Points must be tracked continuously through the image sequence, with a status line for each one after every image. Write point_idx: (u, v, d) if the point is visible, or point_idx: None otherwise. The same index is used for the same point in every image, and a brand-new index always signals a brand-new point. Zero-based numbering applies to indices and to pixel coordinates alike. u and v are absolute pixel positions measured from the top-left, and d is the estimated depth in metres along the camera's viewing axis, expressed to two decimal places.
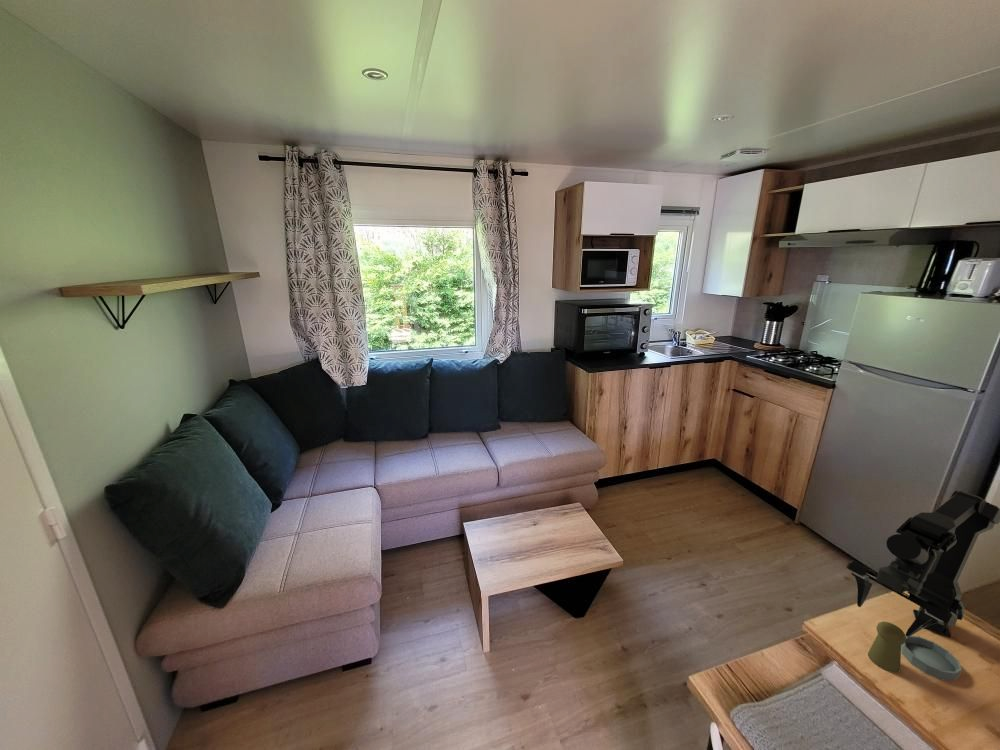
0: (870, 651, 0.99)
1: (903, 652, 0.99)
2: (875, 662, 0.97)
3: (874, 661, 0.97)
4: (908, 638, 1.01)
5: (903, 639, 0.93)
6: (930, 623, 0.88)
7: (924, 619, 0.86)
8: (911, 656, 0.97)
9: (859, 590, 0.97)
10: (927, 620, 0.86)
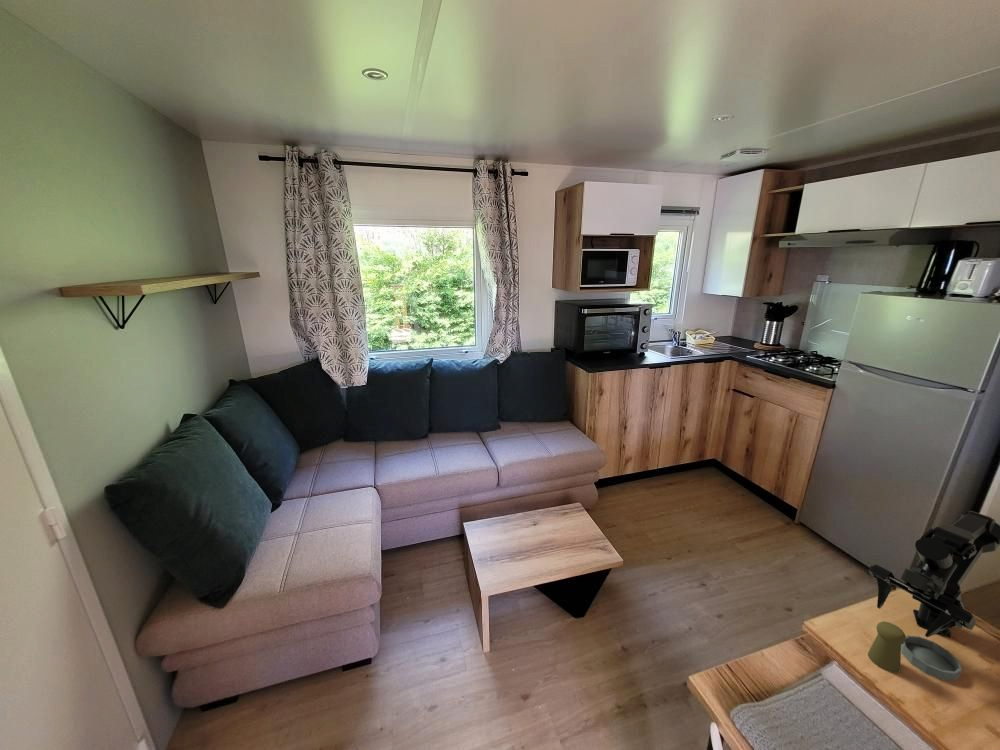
0: (870, 651, 0.99)
1: (903, 652, 0.99)
2: (875, 662, 0.97)
3: (874, 661, 0.97)
4: (908, 638, 1.01)
5: (903, 639, 0.93)
6: (949, 626, 0.92)
7: (945, 619, 0.91)
8: (911, 656, 0.97)
9: (880, 592, 1.01)
10: (948, 620, 0.90)
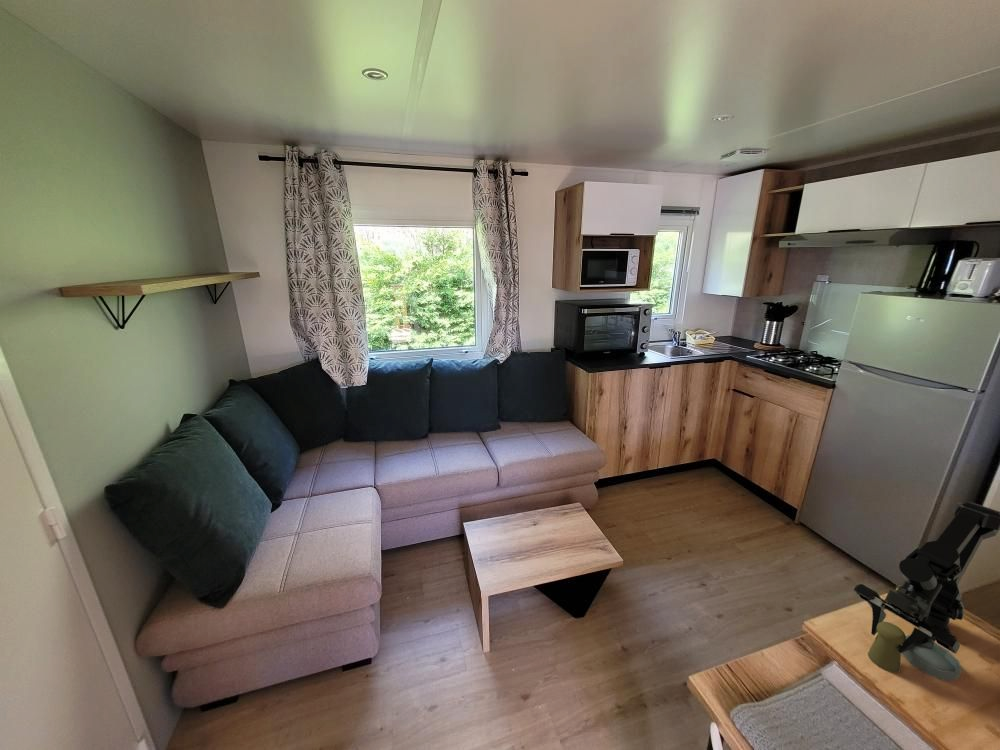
0: (870, 651, 0.99)
1: (903, 652, 0.99)
2: (875, 662, 0.97)
3: (874, 661, 0.97)
4: None
5: (903, 639, 0.93)
6: (922, 642, 0.93)
7: (918, 636, 0.92)
8: (911, 656, 0.97)
9: (874, 618, 0.99)
10: (921, 637, 0.91)
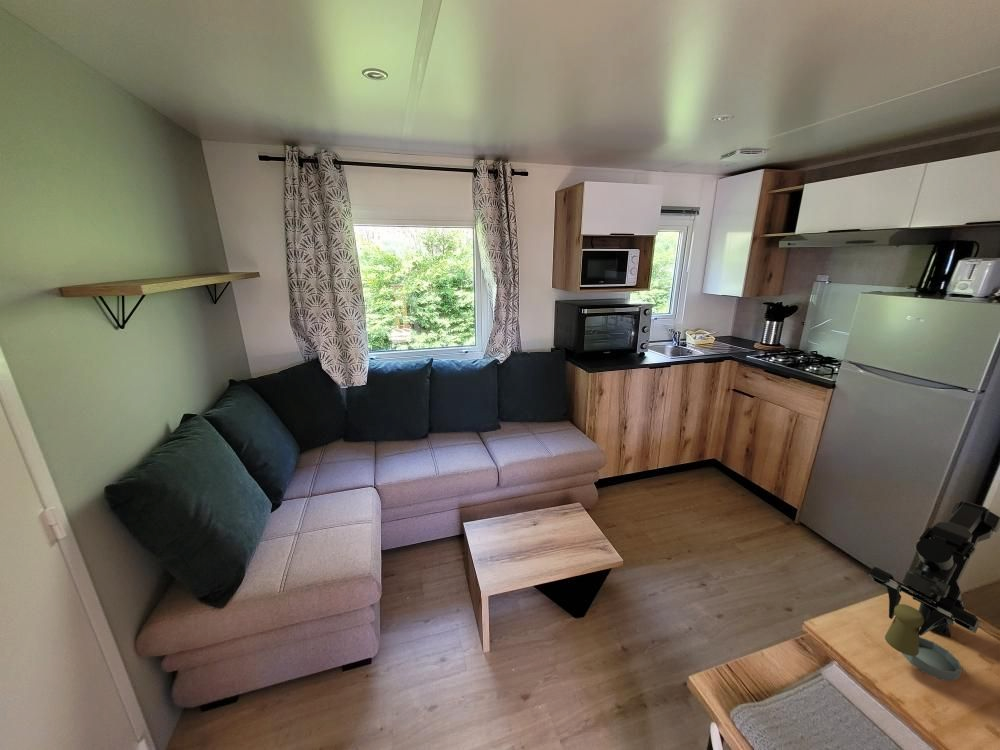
0: (888, 635, 0.97)
1: None
2: (894, 646, 0.95)
3: (892, 645, 0.95)
4: None
5: (922, 621, 0.91)
6: (940, 623, 0.91)
7: (937, 617, 0.90)
8: (911, 656, 0.97)
9: (891, 601, 0.97)
10: (940, 618, 0.89)
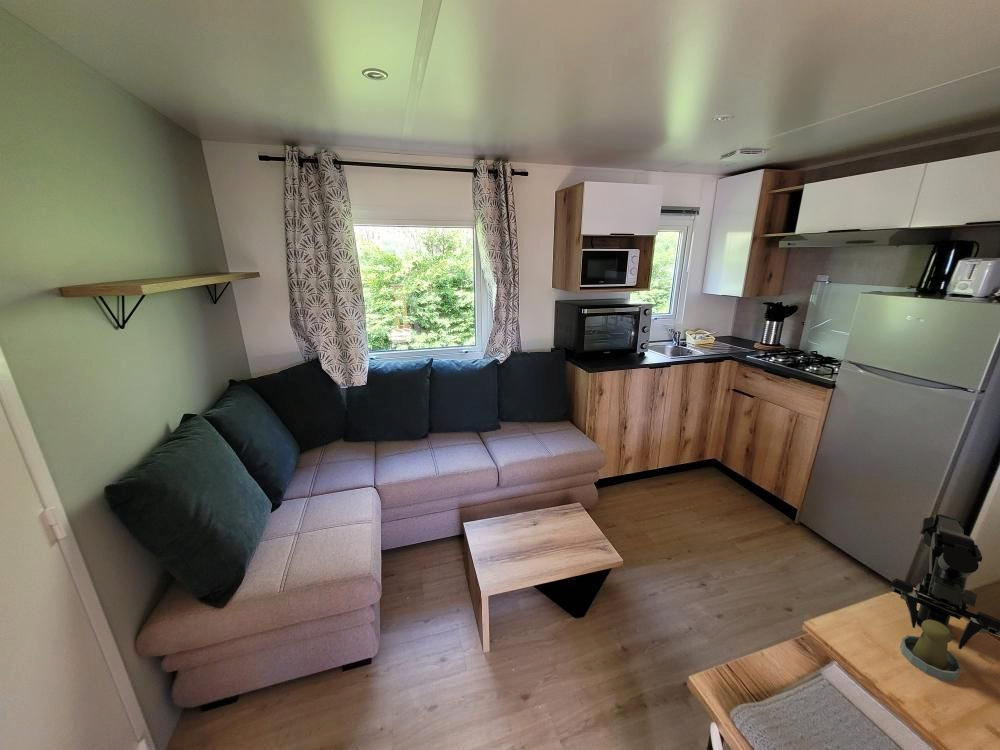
0: (917, 652, 0.97)
1: (903, 652, 0.99)
2: None
3: None
4: (908, 638, 1.01)
5: (951, 636, 0.93)
6: None
7: (975, 629, 0.91)
8: (911, 656, 0.97)
9: (912, 610, 0.98)
10: (978, 630, 0.90)
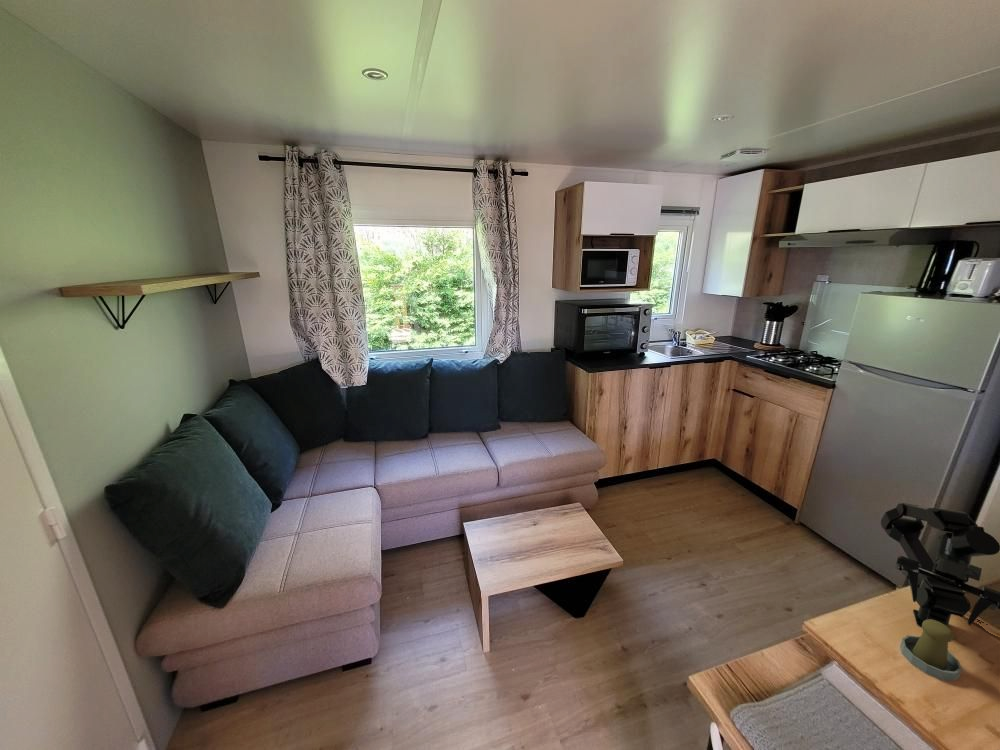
0: (917, 652, 0.98)
1: (903, 652, 0.99)
2: None
3: None
4: (908, 638, 1.01)
5: (952, 636, 0.93)
6: (983, 610, 0.93)
7: (984, 605, 0.91)
8: (911, 656, 0.97)
9: (913, 585, 1.00)
10: (987, 606, 0.91)
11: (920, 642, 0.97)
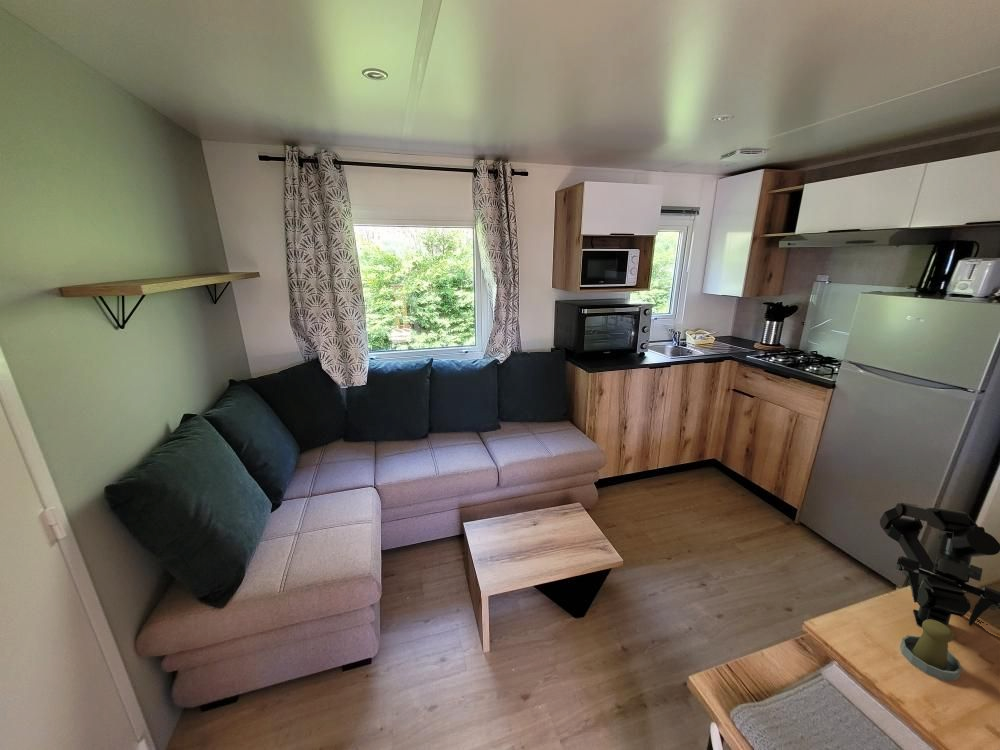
0: (917, 652, 0.98)
1: (903, 652, 0.99)
2: None
3: None
4: (908, 638, 1.01)
5: (952, 636, 0.93)
6: None
7: (985, 605, 0.91)
8: (911, 656, 0.97)
9: (913, 585, 1.00)
10: (988, 606, 0.91)
11: (920, 642, 0.97)
